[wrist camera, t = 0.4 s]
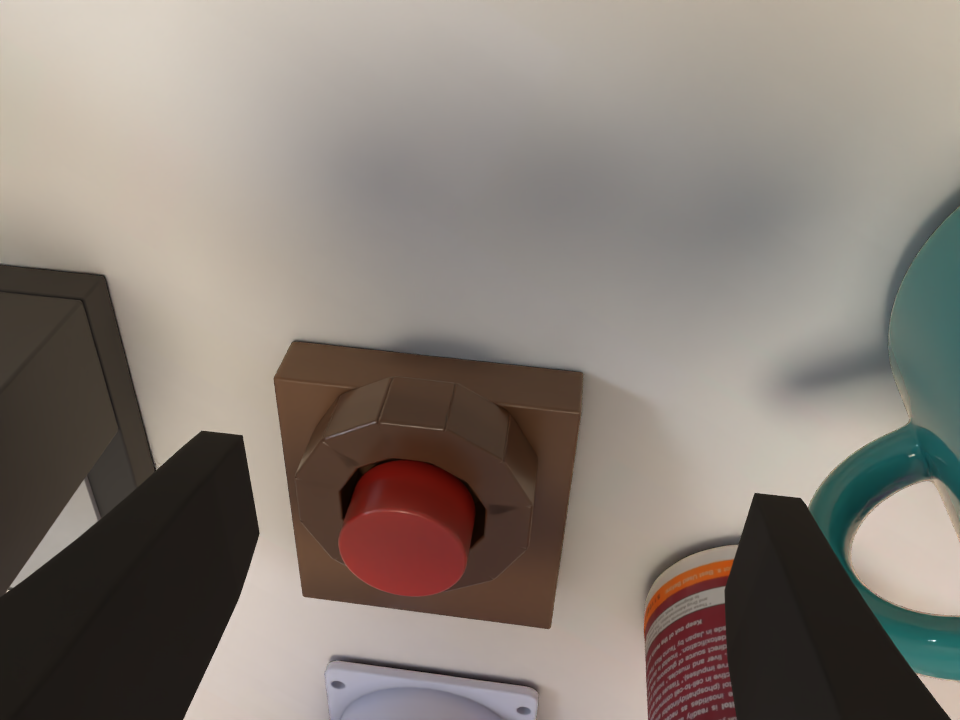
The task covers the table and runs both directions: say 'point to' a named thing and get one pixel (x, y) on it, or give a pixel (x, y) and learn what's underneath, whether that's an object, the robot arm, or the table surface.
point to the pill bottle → (689, 640)
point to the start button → (408, 528)
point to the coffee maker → (61, 416)
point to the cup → (911, 443)
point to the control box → (444, 443)
